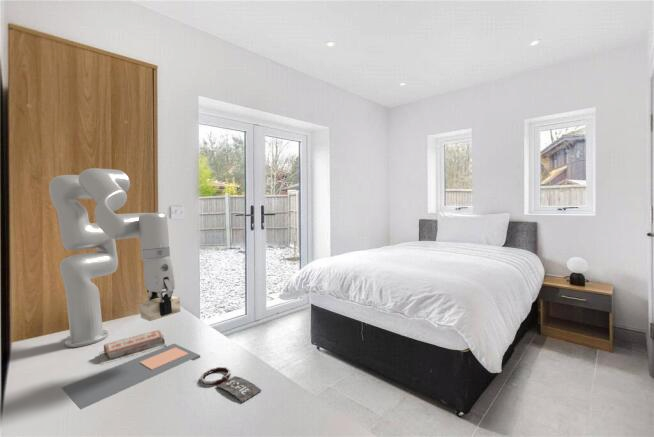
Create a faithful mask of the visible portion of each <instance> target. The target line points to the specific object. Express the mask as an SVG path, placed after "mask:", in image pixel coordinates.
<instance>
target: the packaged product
mask: <svg viewBox="0 0 654 437" xmlns="http://www.w3.org/2000/svg"><path fill="white" fill-rule="evenodd" d="M165 341H166V340H165V337H164V334H163V333H162V331H161V330H160V329H159V330H158V329H157V330H154V331H150V332H146V333H145V332H144V333H142V334H137V335H134V336H130V337H127V338H122V339H118V340H115V341H110V342H107V343H105V344H104V345H103V350H100V351H99V362H100V365H101V366H102V365H106V364H109V363H112V362H116V361H120V360H122V359H126V358H130V357H134V356H137V355H140V354H144V353H146V352H148V353H149V352H152V351H155V350H159V349H161V348H164V347H166V346H167V345H166V342H165Z"/></svg>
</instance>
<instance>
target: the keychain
mask: <svg viewBox="0 0 654 437" xmlns="http://www.w3.org/2000/svg"><path fill="white" fill-rule="evenodd" d="M220 372H222V373H225V374H226V375H224V376H222V377H221V378H219V379H215V380H205V379H206V378H207V377H208V376H210V375H212V374H216V373H220ZM231 372H232V370H230V369H229V368H228V367H226V366H225V367H223V366H218V367H214V368H210V369H208V370H207V371H205V372H203V373H202V375H201V377H200V383H201V385H202V386H205V387H214V386H215V387H216V389H217V390H221V389H223V390H225V391H227V392H228V393H230V394H231V395H232V396H234V397H235V398H237V399H238V402H239V403H244V402H246V401H247V400H249V399H251V398H253V397H254V396H255V395H257V394H258V393H261V392H262V389H260V388H259V387H258V386H257V385H255V384H254V383H253V382H250V381H249V380H247V379H245V378H243V377H239V376H237V375H235V376H232V377H231V375H232V374H231ZM230 377H231V378H230Z"/></svg>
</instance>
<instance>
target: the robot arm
mask: <svg viewBox="0 0 654 437" xmlns="http://www.w3.org/2000/svg"><path fill="white" fill-rule="evenodd" d="M130 181H131V180H130V178H129V176H128V175H127V174H126V173H125V172H124V171H123V170H120V169H113V168H112V169H111V168H98V167H95V168H94V167H93V168H87V169H85V170H83V171H81V172H80V173H79V174H62V175H57V176H54V177H53V178H51V180H50V182H49V185H48V186H49V187H48V193H49V197H50V199H51V203H52V204H53V207H54V208H55V210H56V213H57V219H58V226H59V232H60V239H61V245H62V247H63V248H64V249H65V250H66V251H70V252H74V251H85V250H93V249H96V250H97V251H91V252H86V253H78V254H73V255H70V256H67V257H65V258H63V260H61V262H60V263H59V264H60V265H59V272H60V276H61V278H62V282H63V286H64V290H65V298H66V308H67V318H68V326H69V327H68V329H69V338H67V339H66V340H65V341H64V345H65V347H68V348H78V347H83V346H88V345H89V346H90V345H91V344H94V343H98V342H101V341H102V340H104V339H105V338H107V337H108V336H109V331H108V330H106V329H104V328H103V319H102V316H103V315H102V308H101V307H102V306H101V296H100V290H99V287H98V286H97V285H96V284H95V283H94V282H92V281H91V280H92V279H96V278H99V277H103V276H104V277H105V276H109V275H111V274H114V273H115V272H117V270H118V266H119V259H118V251H117V242H116V240H125V239H134V238H139V240H140V242H139V243H140V254H141V261H143V281H144V282H143V283H144V287H145V289H146V292H147V293H148V294H147V299H148V300H152V299H156V298H160V301H161V302H160V303H159V306H160V315H161V316H164V315H167V314H170V313H172V306H171V300H172V298H171V297H172V295H173V293H174V290H175V289H176V288H175V287H176V284H175V276H174V274H175V273H174V269H173V265H172V260H171V249H170V239H169V228H168V226H169V225H168V217H167V215H166V214H165V213H164V212H134V213H133V212H132V213H131V212H129V213H118V214H117V213H115V212H116V211H117V210H119V209H121V208H122V207H123V206H125V204H126V202H127V200H128V194H127V192H128V191H129V189H130V186H131V182H130ZM79 200H93V201H94V202H95V203H96V204H95V207H94V219H95V222H92V223H91V222H90V219H89V214H88V213H89V212H88V210H87V208H86V207H85V206H84V205H83V204H82V203H81V202H80V201H79ZM163 296H164V297H163Z"/></svg>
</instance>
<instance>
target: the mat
mask: <svg viewBox="0 0 654 437" xmlns="http://www.w3.org/2000/svg"><path fill="white" fill-rule="evenodd" d="M199 358H201V354H199V353H196V352H194V351H192V350H190V349H187V348H185V347H183V346H182V345H181V346H180V345H178V344H176V343H171V344H170V345H166V347H161V348H158V349H155V350H153V351H150V352H148V353H146V354H144V355H141V356H138V357H135V358H134V359H130V360H128V361H126V362H123V363H122V364H118V365H116V366H113V367H111V368H108V369H105V370H103V371H101V372H97V373H95V374H92V375H90V376H88V377H85V378H83V379H80V380H78V381H75V382H72V383H69V384H67V385H65V386H62V387H61V389H62V390H63V391H64V393H65V394H66V395H67V396H68V397H69V398H70V399H71V400H72V401H73V403H74V404H75V405H76V406H77V407H78V408H79V409H80V410H83V409H85V408H87V407H89V406H92V405H94V404H97V403H98V402H100V401H103V400H105V399H107V398H109V397H111V396H113V395H116V394H118V393H119V392H122V391H125V390H127V389H129V388H132V387H133V386H136V385H138V384H140V383H142V382H144V381H146V380H149V379H151V378H153V377H156V376H158V375H159V374H163V373H164V372H167V371H169V370H171V369H173V368H175V367H178V366H180V365H182V364H184V363H186V362H188V361H190V360H191V361H195V360H197V359H199Z"/></svg>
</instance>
